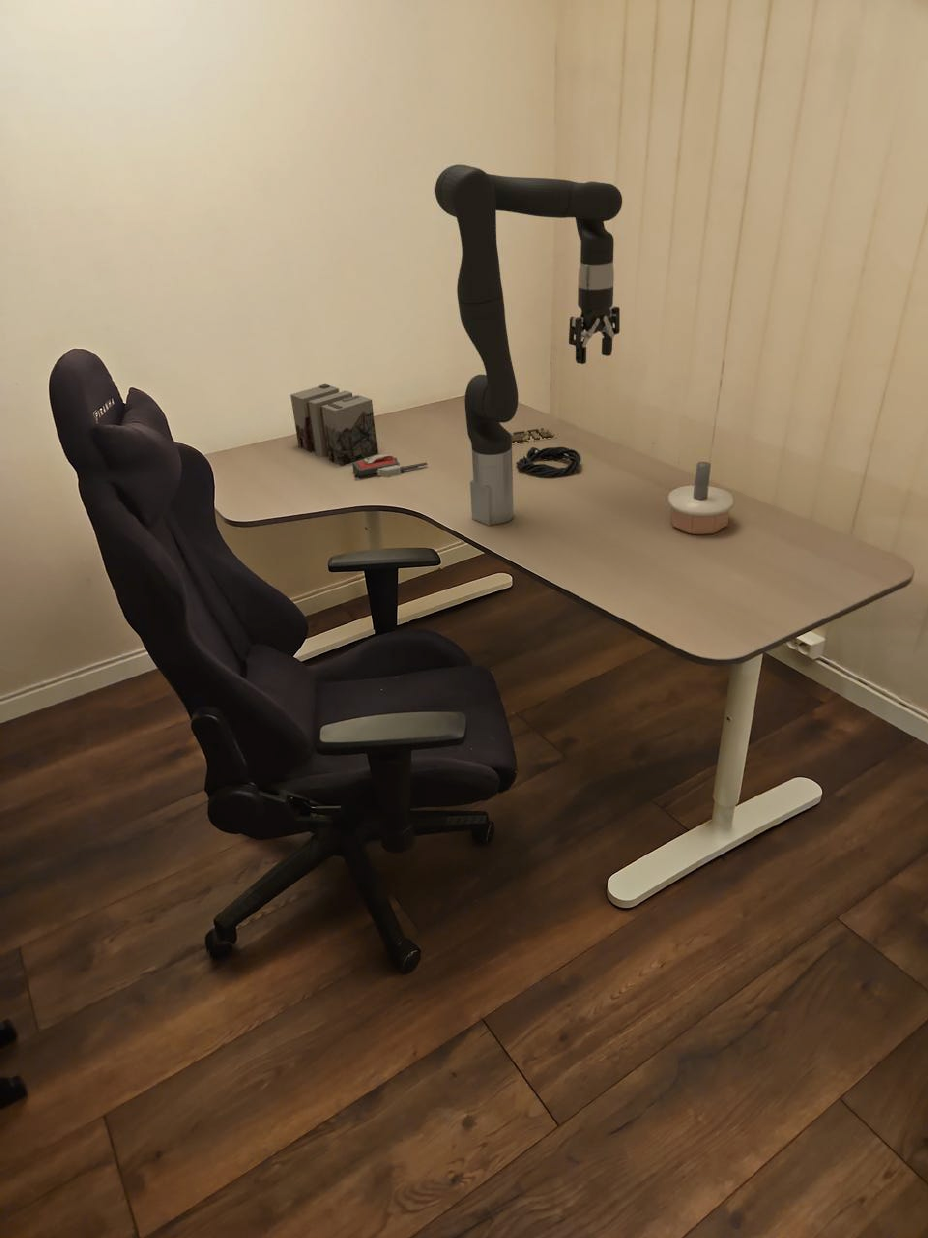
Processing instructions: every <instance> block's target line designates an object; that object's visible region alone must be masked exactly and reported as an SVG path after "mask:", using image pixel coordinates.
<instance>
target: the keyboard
mask: <svg viewBox="0 0 928 1238" xmlns="http://www.w3.org/2000/svg"><path fill="white" fill-rule="evenodd" d="M541 430H542V431H541ZM509 433H510V435H511V437H512V443H515V442H517V443H520V444H524V443H523V442H527V443H530V442H529V441H527V440H530V436H532V438H533V439H534V442H536V441H535V440H540V437H539V436H541V437H542V439H544V438H546V439H548V438H553V437H554V435H555V433H553V432H552V430H551V429H547V430H545V429H544V427H542V428H540V430H539V428H533V429H532V428H531V429H527V430H526V431H525V430H519V431H514V432H513V434H512V433H511V432H509ZM538 434H539V435H538ZM548 440H549V439H548ZM521 442H522V443H521Z"/></svg>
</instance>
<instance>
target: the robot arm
mask: <svg viewBox="0 0 928 1238" xmlns="http://www.w3.org/2000/svg"><path fill="white" fill-rule="evenodd" d="M434 195H435V196H434V197H435V200H436V202H437V204H438V205H439V207H440V208H441V209H442V210H443V211H444V213H447V214H448V215H450V216H451V217H454V218H456V220H457V224H458V228H459V233H460V234H459V235H460V240H461V248H462V249H461V251H462V258H461V264H460V267H459V272H458V278H457V287H456V293H457V300H458V301H457V302H458V310H459V315H460V321H461V323H462V326H463V328H464V331H465V332H466V334H467V336H468V338H469V340H470V342H471V343H472V344H473V346H474V348H475V350H476V351H477V353H478V355H479V356H480V359H481V361H482V363H483V366H484V370H485V373H486V374H477V375H475V376H473V377H471V378H470V379H469V381H468V383H467V385H466V389H465V392H464V400H463V401H464V413H465V424H466V432H467V437H468V439H469V441H470V445H471V460H472V461H471V463H472V465H471V466H472V480H470V482H469V487H470V488H469V489H470V491H469V492H470V493H469V494H470V509H471V519H473V520H474V521H477V522H479V523H481V524H483V525H486V526H488V527H489V526H492V525H498V524H504V523H507V522H509V521H511V520H512V519H513V518H514V515H515V514H514V513H515V511H514V510H515V509H514V508H515V507H514V481H513V480H514V476H513V475H514V474H513V473H514V472H513V470H514V469H513V466H514V465H513V445H512V437H511V435H512V434H511V435H510V433H511V432H509V431H508V430H507V429H506V428H504V427H503V426H502V424H501V423H503V424H504V423H507V422H509V421H511V420H512V419H513V418H514V417H515V415H516V414H517V411H518V408H519V407H518V406H519V389H518V383H517V380H516V379H517V378H516V375H515V371H514V370H515V369H514V366H513V360H512V356H511V350H510V345H509V337H508V331H507V324H506V311H505V308H506V307H505V301H504V293H503V285H502V280H501V269H500V263H499V262H500V260H499V253H498V247H497V246H498V245H497V223H496V222H497V219H496V218H497V217H496V215H497V214H496V211H503V212H510V213H516V214H517V213H518V214H522V215H527V216H534V217H541V218H542V217H543V218H545V217H546V218H557V219H558V218H559V219H564V218H575V222H576V227H577V234H578V236H579V241H580V246H579V248H580V251H579V252H580V253H579V254H580V255H579V268H578V291H577V296H578V299H577V304H578V305H577V306H578V307H579V308H580V316H577V317H576V316H570V318H569V332H568V333H569V334H568V335H569V336H568V344H569V345H572V346H574V347H575V360H576V363H577V364H580V365H585V364H586V362H587V347H586V346H587V345H588V341H589V340H590V339H591V338H592V337H593V335H594V334H596V333H601V335H602V337H603V338H601V354H602V356H607V357H608V356H612V351H613V348H612V347H613V339H614V337H615V335H619V333H620V332H621V331H620V329H621V328H620V318H621V317H620V315H621V314H620V312H621V311H620V307H619V306H615V305H613V302H614V277H615V274H614V244H615V243H614V236H613V235H612V234H611V232H609V231H608V230H607V229H606V226H605V222H607V221H610V220H612V219H614V218H615V217H616V216H617V215H618V214H619V212H620V211H621V209H622V207H623V196H622V193H621V191H620V190H619V189H618V187H617V186H615V185H613V184H611V183H607V182H598V181H587V182H577V181H572V180H569V179H568V180H567V179H560V178H559V179H558V178H545V177H522V176H521V177H519V176H518V177H517V176H505V175H496V174H490V173H487V172H486V171H485V170H483V169H481V168H478V167H475V166H470V165H466V164H454V165H449V166H447V167H446V168H445V169H444V170H442V172H440V174H439V175H438V177H437V178H436V181H435V185H434Z"/></svg>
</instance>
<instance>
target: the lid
mask: <svg viewBox="0 0 928 1238" xmlns="http://www.w3.org/2000/svg"><path fill="white" fill-rule="evenodd" d="M710 475H711V462H708V461H698V462H697V463H696V468H695V477H694V478H695V479H694V485H684V486H680V487H678V488H675V489H673V490H671V491H670V492H669V494H668V496H667V502H668V506H669V507H670V509H671V508H672V509H674V510H676V511H678V512H680V513H683V514H687V515H693V516H714V515H719V514H722V513H725V512H727V511H728V510H729V511H730V510H731V508H733V502H734V501H733V500H734V499H733V496H732V495H731V494H730V493H729V492H728V491H726V490H724V489H722V488H719V487H716V486H712V485H711V486H710V485H709V484H710Z"/></svg>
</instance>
